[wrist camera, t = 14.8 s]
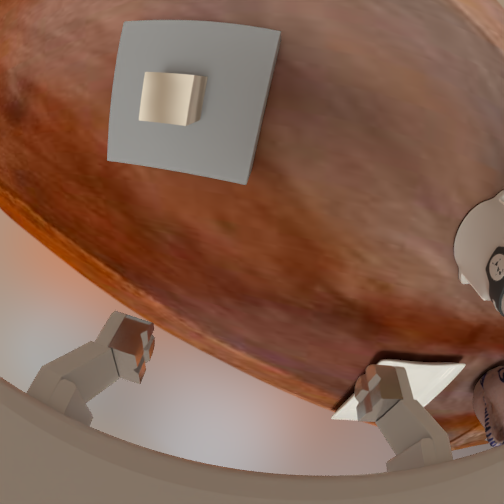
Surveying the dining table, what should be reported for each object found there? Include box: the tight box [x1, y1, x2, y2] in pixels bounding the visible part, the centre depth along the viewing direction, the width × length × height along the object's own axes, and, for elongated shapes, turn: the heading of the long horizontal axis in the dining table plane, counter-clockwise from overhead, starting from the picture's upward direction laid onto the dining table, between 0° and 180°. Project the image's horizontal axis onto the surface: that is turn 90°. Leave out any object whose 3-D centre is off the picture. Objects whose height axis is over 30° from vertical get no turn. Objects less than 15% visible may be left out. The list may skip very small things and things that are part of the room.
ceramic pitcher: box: [473, 366, 504, 448], centre depth 49 cm, size 18×21×25 cm
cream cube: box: [139, 72, 208, 126], centre depth 26 cm, size 5×5×5 cm
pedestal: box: [107, 20, 281, 185], centre depth 30 cm, size 18×18×6 cm
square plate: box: [331, 359, 465, 420], centre depth 60 cm, size 27×27×4 cm
